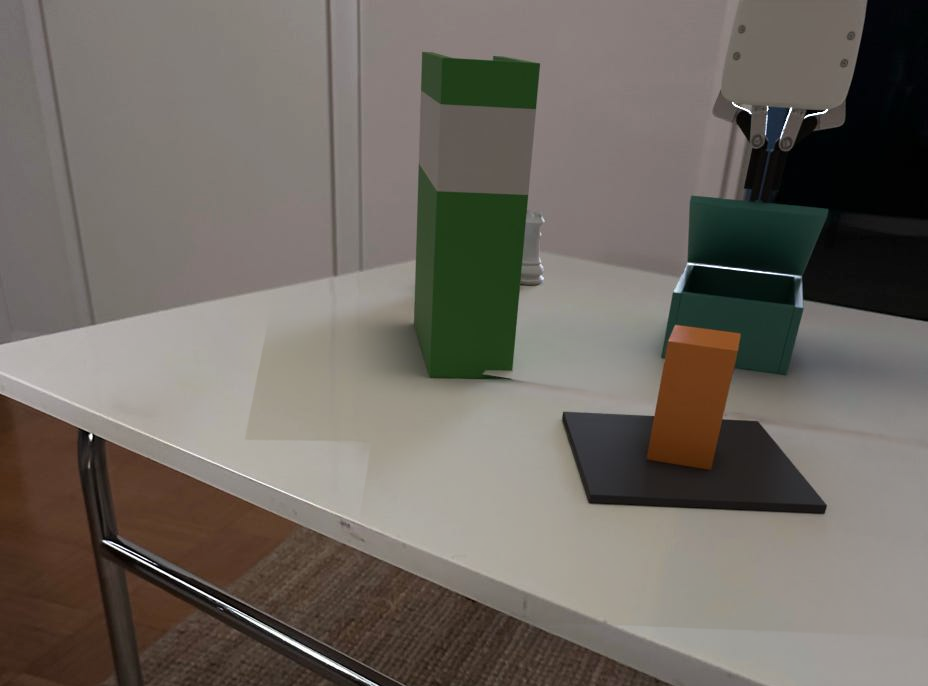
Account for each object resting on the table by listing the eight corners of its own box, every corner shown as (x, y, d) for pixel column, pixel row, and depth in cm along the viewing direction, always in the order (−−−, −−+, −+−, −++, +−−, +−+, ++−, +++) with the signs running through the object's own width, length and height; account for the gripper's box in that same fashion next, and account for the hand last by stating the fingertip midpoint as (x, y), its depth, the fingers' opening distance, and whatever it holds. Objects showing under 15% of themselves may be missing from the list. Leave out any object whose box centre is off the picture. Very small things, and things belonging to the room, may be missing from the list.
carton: (710, 470, 65) (737, 350, 61) (646, 459, 66) (668, 340, 62) (715, 448, 69) (740, 333, 64) (653, 438, 70) (674, 324, 65)
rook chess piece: (504, 277, 117) (510, 208, 112) (538, 277, 118) (545, 209, 113) (512, 285, 113) (518, 214, 109) (547, 285, 114) (555, 215, 110)
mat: (756, 427, 75) (758, 420, 75) (825, 513, 62) (827, 505, 61) (561, 418, 75) (562, 411, 74) (589, 502, 61) (590, 494, 61)
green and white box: (413, 323, 96) (422, 51, 83) (483, 325, 97) (503, 56, 84) (429, 377, 81) (442, 57, 68) (511, 378, 82) (540, 63, 69)
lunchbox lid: (826, 217, 78) (828, 208, 78) (689, 203, 81) (691, 195, 81) (802, 275, 93) (804, 268, 93) (687, 262, 96) (688, 255, 96)
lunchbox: (784, 383, 86) (804, 308, 82) (659, 365, 88) (672, 292, 84) (785, 343, 97) (802, 276, 94) (674, 329, 100) (687, 262, 96)
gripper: (915, -54, 72) (846, 203, 82) (720, -62, 75) (677, 186, 85) (926, -64, 66) (850, 215, 76) (714, -72, 69) (668, 197, 79)
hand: (759, 199), depth 81 cm, fingers closed
